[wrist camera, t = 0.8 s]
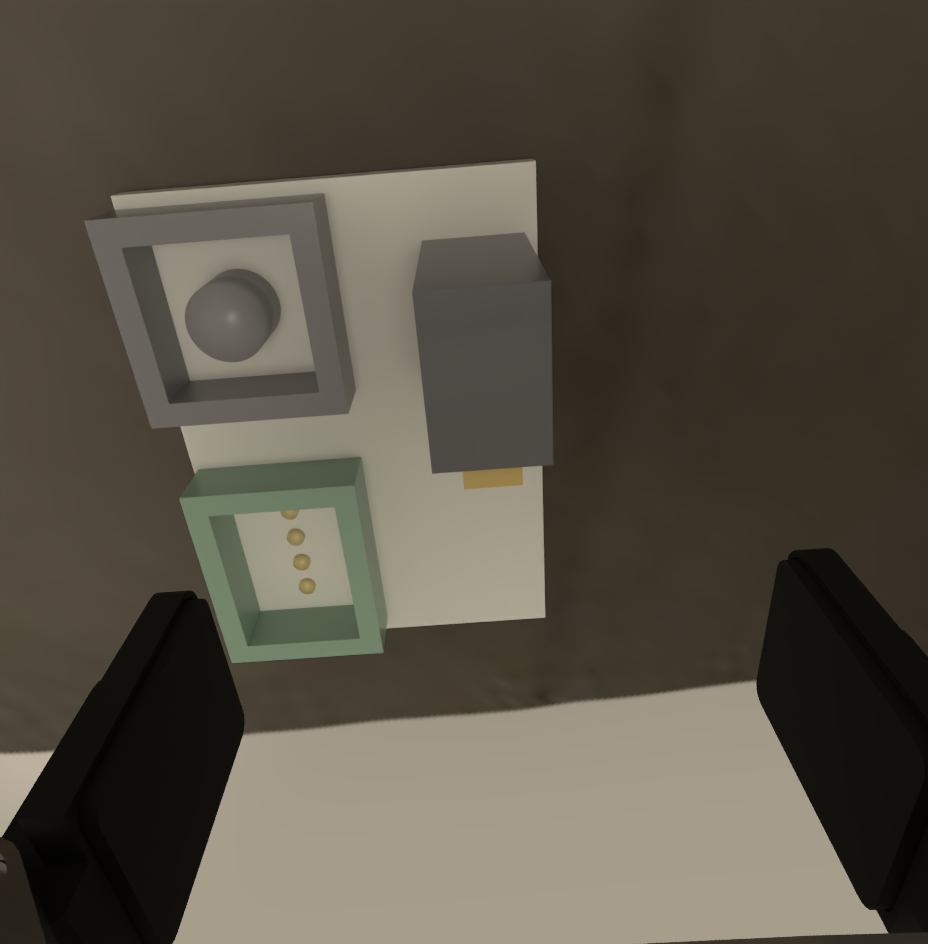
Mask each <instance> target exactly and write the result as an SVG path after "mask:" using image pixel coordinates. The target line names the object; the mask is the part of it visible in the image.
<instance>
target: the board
mask: <svg viewBox="0 0 928 944" xmlns="http://www.w3.org/2000/svg"><path fill="white" fill-rule="evenodd" d="M111 199H112V202H113V206H114V209H115V210H114V211H111V212H108V213H105V214H102V215H99V216H96V217H93V218H90V219H87V220H84V223H85V226H86V229H87V232H88V235H89V238H90V241H91V244H92V247H93V250H94V253H95V256H96V259H97V262H98V266H99V269H100V272H101V275H102V278H103V281H104V284H105V287H106V290H107V293H108V296H109V299H110V302H111V305H112V309H113V312H114V315H115V318H116V321H117V324H118V327H119V330H120V333H121V336H122V339H123V342H124V345H125V348H126V351H127V355H128V358H129V361H130V364H131V367H132V370H133V373H134V376H135V379H136V382H137V385H138V388H139V391H140V394H141V398H142V401H143V404H144V407H145V410H146V413H147V416H148V419H149V422H150V425H151V428H152V429H154V428H167V427H181V430H182V434H183V437H184V440H185V444H186V447H187V450H188V453H189V457H190V460H191V463H192V467H193V470H194V473H195V474H196V472H197V471H198V469H206V468H220V467H233V466H247V465H260V464H274V463H287V462H301V461H314V460H328V459H341V458H355V457H361V459H362V465H363V471H364V477H365V483H366V489H367V495H368V501H369V507H370V513H371V519H372V526H373V532H374V538H375V544H376V550H377V556H378V562H379V568H380V574H381V580H382V586H383V592H384V598H385V604H386V610H387V616H388V619H387V627H386V628H399V627H414V626H428V625H443V624H457V623H472V622H486V621H501V620H515V619H530V618H544V617H545V582H544V533H543V485H542V466H532V467H522V468H523V485H518V486H504V487H490V488H477V489H464V483H463V472H450V473H436V474H432V468H431V459H430V450H429V441H428V432H427V423H426V414H425V405H424V396H423V386H422V377H421V368H420V359H419V350H418V341H417V332H416V323H415V314H414V305H413V296H412V290H413V285H414V279H415V274H416V269H417V264H418V259H419V254H420V249H421V243H422V241H423V240H435V239H448V238H460V237H473V236H485V235H498V234H510V233H523V232H524V233H525V234H526V236H527V238H528V240H529V242H530V243H531V245H532V247H533V249H534V251H535V253H536V254H537V256H538V244H537V196H536V161H535V160H534V159H521V160H509V161H497V162H485V163H472V164H460V165H448V166H436V167H424V168H411V169H399V170H387V171H375V172H363V173H351V174H338V175H326V176H314V177H302V178H290V179H278V180H265V181H253V182H241V183H229V184H217V185H204V186H192V187H180V188H168V189H156V190H144V191H131V192H123V193H119V194H116V195H112V196H111ZM234 518H235V522H236V525H237V529H238V532H239V536H240V539H241V543H242V547H243V550H244V554H245V557H246V561H247V564H248V568H249V572H250V575H251V579H252V582H253V586H254V589H255V593H256V597H257V600H258V604H259V607H260V611H268V610H282V609H297V608H311V607H325V606H340V605H354V604H353V599H352V594H351V589H350V584H349V579H348V573H347V568H346V563H345V558H344V553H343V548H342V543H341V537H340V532H339V527H338V522H337V517H336V512H335V507H330V508H316V509H303V510H299V512H298V515H297V517H296V518H295V519H292V520H288V519H285V518H284V517H283V516H282V515H281V511H275V512H261V513H247V514H234ZM292 529H300V530H302V531H303V532H304V534H305V538H304V541H303V543H302V544H301V545H298V546H294V545H291V544H290V543H289V542H288V541H287V536H288V533H289V531H290V530H292ZM298 554H305V555H307V556H308V557H309V558H310V565H309V567H308V569H306V570H303V571H301V570H297V569H296V568H295V567H294V566H293V561H294V558H295V556H296V555H298ZM304 578H310V579H312V580H314V581H315V583H316V587H315V590H314V592H313V593H311V594H303V593H302V592H301V591H300V590H299V584H300V581H301V580H302V579H304Z"/></svg>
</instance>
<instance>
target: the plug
mask: <svg viewBox="0 0 928 944" xmlns="http://www.w3.org/2000/svg"><path fill="white" fill-rule="evenodd" d="M412 296H413V305H414V314H415V323H416V332H417V341H418V350H419V359H420V368H421V377H422V386H423V396H424V405H425V414H426V423H427V432H428V441H429V450H430V459H431V468H432V474H436V473H450V472H463V483H464V489H477V488H490V487H504V486H518V485H523V468H522V467H532V466H545V465H553V396H552V310H551V280H550V278H549V276H548V274H547V272H546V271H545V269H544V267H543V265H542V263H541V262H540V260H539V258H538V256H537V254H536V253H535V251H534V249H533V247H532V245H531V243H530V242H529V240H528V238H527V236H526V234H525V233H524V232H523V233H510V234H498V235H485V236H473V237H460V238H448V239H435V240H423V241H422V243H421V249H420V254H419V259H418V264H417V269H416V274H415V279H414V285H413V290H412Z"/></svg>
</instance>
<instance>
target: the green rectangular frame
mask: <svg viewBox="0 0 928 944" xmlns="http://www.w3.org/2000/svg"><path fill="white" fill-rule="evenodd" d="M179 500H180V503H181V506H182V509H183V512H184V515H185V518H186V522H187V525H188V528H189V531H190V534H191V537H192V540H193V543H194V546H195V550H196V553H197V556H198V559H199V562H200V565H201V568H202V571H203V574H204V577H205V581H206V584H207V587H208V590H209V593H210V596H211V599H212V602H213V605H214V609H215V612H216V615H217V618H218V621H219V624H220V627H221V630H222V633H223V637H224V640H225V643H226V646H227V649H228V652H229V655H230V658H231V661H232V663H239V662H254V661H269V660H283V659H298V658H313V657H327V656H342V655H357V654H371V653H383V652H384V644H385V635H386V627H387V619H388V616H387V610H386V604H385V598H384V592H383V586H382V580H381V574H380V568H379V562H378V556H377V550H376V544H375V538H374V532H373V526H372V519H371V513H370V507H369V501H368V495H367V489H366V483H365V477H364V471H363V465H362V459H361V457H355V458H341V459H328V460H314V461H301V462H287V463H274V464H260V465H247V466H233V467H220V468H206V469H198V471H197V472H196V474H195V475H194V477H193V478H192V480H191V481H190V483H189V484H188V486H187V487H186V489H185V490H184V492H183V493H182V495H181V496H180V498H179ZM330 507H335V512H336V517H337V522H338V527H339V532H340V537H341V543H342V548H343V553H344V558H345V563H346V568H347V573H348V579H349V584H350V589H351V594H352V599H353V604H354V605H340V606H325V607H311V608H297V609H282V610H268V611H260V607H259V604H258V600H257V597H256V593H255V589H254V586H253V582H252V579H251V575H250V572H249V568H248V564H247V561H246V557H245V554H244V550H243V547H242V543H241V539H240V536H239V532H238V529H237V525H236V522H235V518H234V514H247V513H261V512H275V511H281V515H282V516H283V517H284V518H285V519H288V520H292V519H295V518H296V517H297V515H298V512H299V510H303V509H316V508H330ZM304 538H305V534H304V532H303V531H302V530H300V529H292V530H290V531H289V533H288V536H287V541H288V542H289V543H290V544H291V545H294V546H298V545H301V544H302V543H303V541H304ZM309 565H310V558H309V557H308V556H307V555H305V554H298V555H296V556H295V558H294V561H293V566H294V567H295V568H296V569H297V570H301V571H303V570H306V569H308V567H309ZM315 587H316V583H315V581H314V580H312V579H310V578H304V579H302V580H301V581H300V584H299V590H300V591H301V592H302V593H303V594H311V593H313V592H314V590H315Z"/></svg>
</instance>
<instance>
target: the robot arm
mask: <svg viewBox="0 0 928 944" xmlns="http://www.w3.org/2000/svg"><path fill="white" fill-rule="evenodd" d="M756 684H757V693H758V697H759V700H760V703H761V705H762V707H763V709H764V711H765V713H766V715H767V717H768V719H769V721H770V723H771V725H772V727H773V729H774V731H775V733H776V735H777V737H778V739H779V741H780V742H781V745H782V746H783V749H784V751H785V752H786V754H787V757H788V758H789V760H790V762H791V764H792V766H793V768H794V770H795V772H796V774H797V776H798V778H799V780H800V782H801V784H802V786H803V788H804V790H805V792H806V794H807V796H808V798H809V800H810V802H811V804H812V806H813V808H814V810H815V812H816V814H817V816H818V818H819V820H820V822H821V824H822V826H823V827H824V830H825V832H826V834H827V836H828V837H829V840H830V841H831V843H832V845H833V847H834V849H835V851H836V853H837V855H838V857H839V859H840V861H841V863H842V865H843V867H844V869H845V871H846V873H847V875H848V877H849V879H850V881H851V883H852V885H853V887H854V889H855V891H856V893H857V895H858V897H859V898H860V900H861V902H862V903H863V904H864V906H865V907H866V908H868V909H869V910H877V912H878V914H879V916H880V918H881V919H882V921H883V923H884V925H885V927H886V929H887V931H888V933H889V934H855V935H822V936H795V937H774V938H755V939H754V938H753V939H732V940H711V941H691V942H670V943H649V944H928V657H927V656H926V655H925V653H924V652H923V651H922V650H921V649H920V647H919V646H918V645H917V644H916V643H915V642H914V640H913V639H912V638H911V637H910V636H909V635H908V634H907V633H905V632H904V631H903V630H901V629H900V628H899V626H898V625H897V624H896V623H895V622H894V620H893V619H892V618H891V617H890V616H889V614H888V613H887V612H886V611H885V610H884V609H883V607H882V606H881V605H880V604H879V603H878V601H877V600H876V599H875V598H874V597H873V595H872V594H871V593H870V592H869V591H868V589H867V588H866V587H865V586H864V585H863V584H862V582H861V581H860V580H859V579H858V578H857V576H856V575H855V574H854V573H853V572H852V570H851V569H850V568H849V567H848V566H847V564H846V563H845V562H844V561H843V560H842V559H841V557H840V556H839V555H838V554H837V553H836V552H835V551H834V550H833V549H830V548H824V549H809V550H795V551H792V552H791V553H790V555H789V557H788V560H782V561H780V563H779V564H778V567H777V572H776V578H775V583H774V589H773V594H772V599H771V605H770V610H769V616H768V621H767V626H766V632H765V637H764V643H763V648H762V654H761V659H760V664H759V670H758V675H757V683H756ZM243 732H244V713H243V709H242V706H241V703H240V700H239V697H238V694H237V691H236V688H235V685H234V682H233V678H232V675H231V672H230V669H229V666H228V663H227V660H226V657H225V654H224V651H223V648H222V645H221V642H220V638H219V635H218V632H217V629H216V626H215V623H214V620H213V617H212V614H211V611H210V608H209V605H208V603H207V601H206V600H205V599H198V598H197V596H196V594H195V593H194V592H193V591H178V592H163V593H156V594H154V595H153V596H152V597H151V599H150V600H149V602H148V604H147V605H146V607H145V608H144V610H143V612H142V613H141V615H140V617H139V618H138V620H137V622H136V623H135V625H134V627H133V628H132V630H131V632H130V633H129V635H128V637H127V638H126V640H125V642H124V643H123V645H122V646H121V648H120V650H119V651H118V653H117V655H116V656H115V658H114V660H113V661H112V663H111V665H110V666H109V668H108V670H107V671H106V673H105V675H104V676H103V678H102V680H101V681H99V682H98V683H97V684H96V685H95V687H94V688H93V689H92V691H91V692H90V694H89V695H88V697H87V699H86V700H85V702H84V704H83V705H82V707H81V709H80V710H79V712H78V713H77V715H76V717H75V718H74V720H73V722H72V723H71V725H70V727H69V728H68V730H67V732H66V733H65V735H64V736H63V738H62V740H61V741H60V743H59V745H58V746H57V748H56V750H55V751H54V753H53V754H52V756H51V758H50V759H49V761H48V763H47V764H46V766H45V768H44V769H43V771H42V772H41V774H40V776H39V777H38V779H37V781H36V782H35V784H34V786H33V787H32V789H31V791H30V792H29V794H28V796H27V797H26V799H25V800H24V802H23V804H22V805H21V807H20V809H19V810H18V812H17V813H16V815H15V817H14V818H13V820H12V822H11V823H10V825H9V826H8V828H7V830H6V831H5V833H4V835H3V836H2V837H0V944H172V943H173V941H174V940H175V937H176V935H177V932H178V929H179V926H180V923H181V920H182V917H183V914H184V911H185V908H186V905H187V902H188V899H189V896H190V893H191V890H192V887H193V884H194V881H195V878H196V875H197V872H198V869H199V866H200V862H201V859H202V857H203V854H204V851H205V848H206V845H207V842H208V839H209V835H210V833H211V829H212V827H213V823H214V821H215V817H216V814H217V811H218V808H219V805H220V802H221V799H222V796H223V793H224V790H225V787H226V784H227V781H228V778H229V775H230V772H231V769H232V766H233V763H234V760H235V757H236V754H237V751H238V748H239V745H240V742H241V739H242V736H243Z"/></svg>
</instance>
